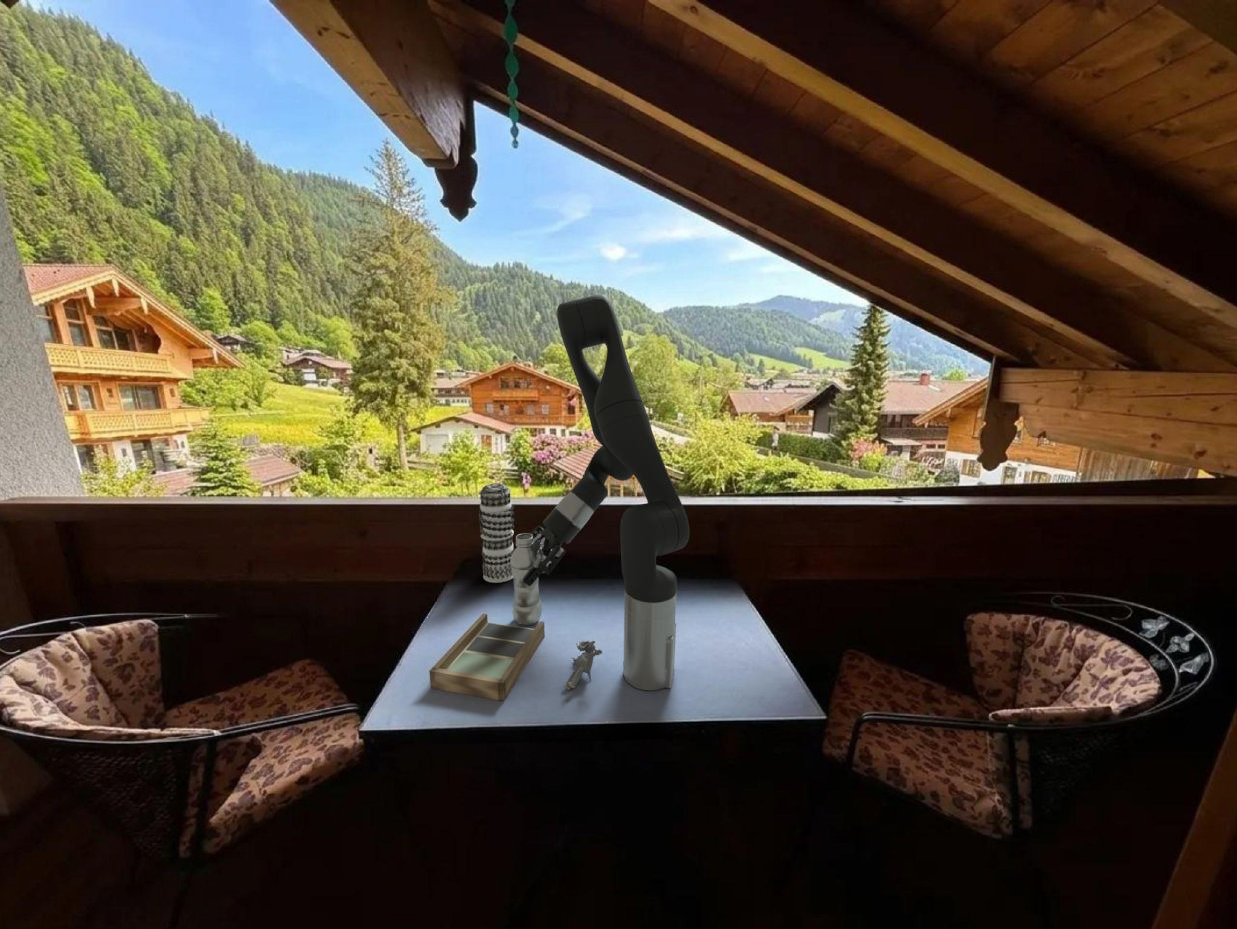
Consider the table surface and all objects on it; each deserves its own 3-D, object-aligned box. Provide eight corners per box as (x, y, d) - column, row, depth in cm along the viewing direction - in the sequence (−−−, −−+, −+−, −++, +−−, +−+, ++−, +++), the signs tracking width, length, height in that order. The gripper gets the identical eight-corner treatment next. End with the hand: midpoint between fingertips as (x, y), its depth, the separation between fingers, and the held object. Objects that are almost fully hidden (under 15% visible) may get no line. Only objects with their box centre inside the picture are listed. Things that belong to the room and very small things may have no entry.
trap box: (544, 636, 97) (544, 621, 96) (503, 701, 78) (502, 683, 78) (483, 628, 99) (482, 613, 99) (430, 687, 81) (429, 670, 81)
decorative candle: (512, 583, 119) (508, 491, 113) (477, 583, 119) (471, 490, 113) (520, 567, 128) (517, 481, 122) (487, 567, 128) (482, 480, 122)
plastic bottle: (513, 630, 99) (509, 544, 94) (512, 614, 105) (508, 532, 100) (543, 626, 100) (541, 541, 96) (540, 610, 107) (538, 529, 102)
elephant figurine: (544, 681, 84) (569, 641, 90) (567, 702, 84) (591, 661, 91) (570, 671, 77) (596, 629, 84) (596, 695, 77) (619, 651, 84)
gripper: (546, 498, 106) (499, 553, 104) (569, 517, 94) (516, 580, 92) (568, 516, 110) (523, 570, 107) (593, 537, 98) (542, 598, 95)
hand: (520, 575), depth 99 cm, fingers open, 8 cm apart
